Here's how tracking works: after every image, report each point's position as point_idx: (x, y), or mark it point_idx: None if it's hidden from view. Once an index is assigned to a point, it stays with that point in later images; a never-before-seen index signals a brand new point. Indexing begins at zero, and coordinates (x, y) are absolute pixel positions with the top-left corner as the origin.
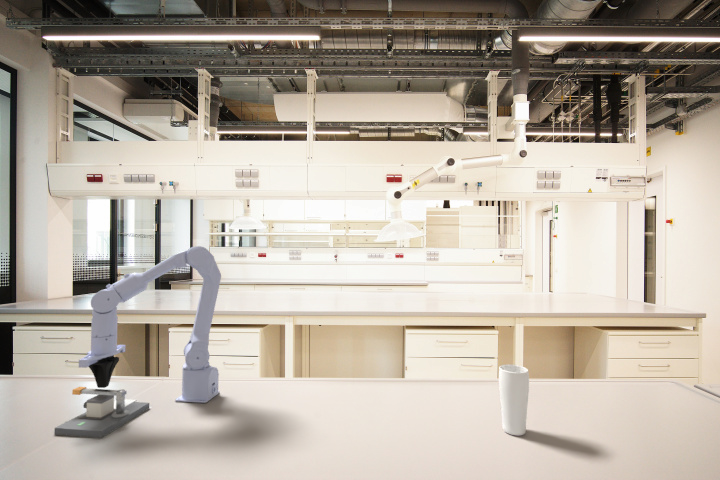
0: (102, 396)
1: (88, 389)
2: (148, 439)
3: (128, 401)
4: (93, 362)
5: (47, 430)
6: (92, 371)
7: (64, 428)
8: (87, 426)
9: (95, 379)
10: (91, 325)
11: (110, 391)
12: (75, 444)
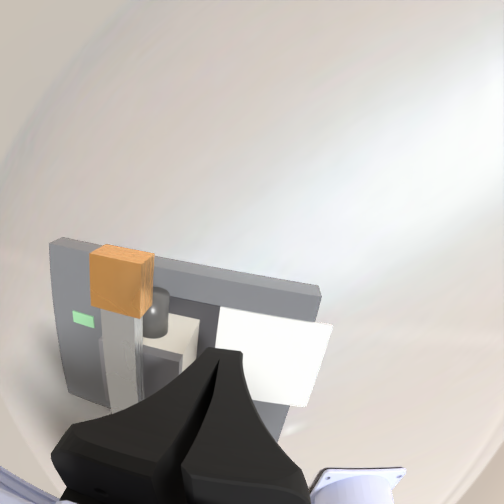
0: (151, 386)
1: (120, 343)
2: None
3: (293, 386)
4: (33, 500)
5: (83, 185)
6: (132, 409)
7: (52, 280)
8: (76, 346)
9: (181, 373)
10: None
11: None
12: (40, 336)
